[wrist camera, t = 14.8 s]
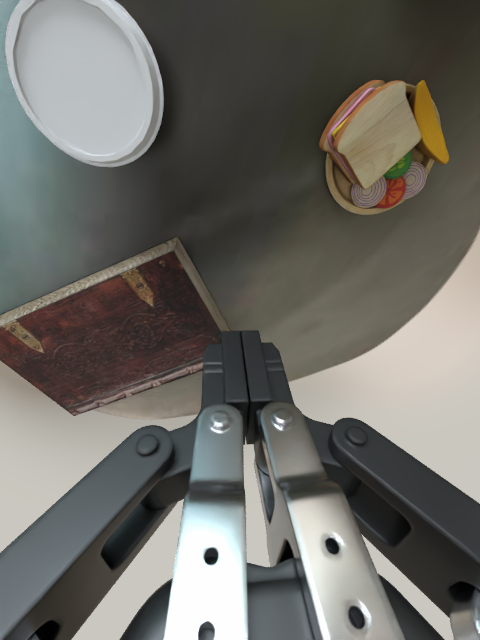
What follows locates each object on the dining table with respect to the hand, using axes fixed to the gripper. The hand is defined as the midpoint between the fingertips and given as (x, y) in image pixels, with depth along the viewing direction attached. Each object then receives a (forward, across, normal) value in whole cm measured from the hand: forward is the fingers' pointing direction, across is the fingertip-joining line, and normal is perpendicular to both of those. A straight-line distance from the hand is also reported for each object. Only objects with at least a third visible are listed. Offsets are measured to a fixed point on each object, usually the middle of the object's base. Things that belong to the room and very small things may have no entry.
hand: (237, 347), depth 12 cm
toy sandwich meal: (+27, -17, -5) cm, 32 cm away
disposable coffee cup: (+27, +9, -9) cm, 30 cm away
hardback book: (+27, +15, +19) cm, 36 cm away
